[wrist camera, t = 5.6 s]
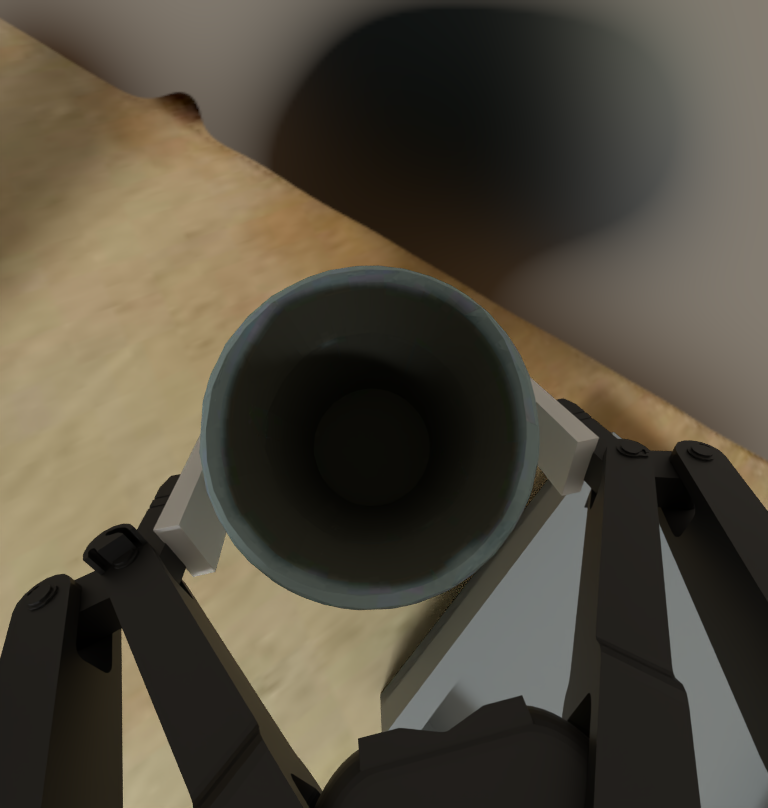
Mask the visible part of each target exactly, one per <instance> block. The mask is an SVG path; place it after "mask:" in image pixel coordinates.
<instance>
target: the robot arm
mask: <svg viewBox="0 0 768 808" xmlns="http://www.w3.org/2000/svg"><path fill="white" fill-rule="evenodd" d="M530 380H531V384H532V387H533V391H534V395H535V400H536V407H537V414H538V420H539V431H540V445H539V459H538V464H537V465H538V467H539V468H540V469H541V470H542V472H543V473H544V474H545V475H546V477H547V478H548V479H549V480H550V482H551V483H552V484H553V485H554V487H555V488H556V489H557V490H558V492H559V493H560V494H561V495H562V496H563V495H568V494H572V493H577V492H580V491H581V488H582V485H583V483H584V481H585V482H586V483H587V484H588V485H589V486H590V488H591V490H590V493H589V496H588V498H587V501H586V504H585V506H584V507H585V508H587V518H586V527H585V537H584V547H583V556H582V566H581V575H580V585H579V594H578V604H577V614H576V623H575V633H574V642H573V652H572V661H571V671H570V678H569V684H568V687H567V691H566V695H565V700H564V705H563V712H562V718H561V717H560V716H558V715H556V714H554V713H552V712H549V711H547V710H545V709H542V708H538V707H534V706H528V705H526V703H525V701H524V698H523V696H522V695H521V696H517V697H513V698H509V699H506V700H502V701H498V702H494V703H490V704H487V705H483V706H482V707H480V708H479V709H478V710H476V711H475V712H473V713H472V714H471V715H469V716H468V717H466V718H465V719H464V720H462V721H461V722H460V723H458V724H457V725H455V726H454V727H453V728H451V729H450V730H448V731H446V732H436V731H426V730H417V729H407V728H396V729H393V730H389V731H385V732H381V733H378V734H374V735H370V736H366V737H363V738H359V739H358V744H359V750H357V751H356V752H355V753H353V754H352V755H351V756H350V757H349V758H347V759H346V760H345V761H344V762H343V763H342V764H341V766H340V767H339V768H338V769H337V770H336V772H335V773H334V774H333V775H332V777H331V778H330V780H329V781H328V783H327V784H326V786H325V788H324V790H323V791H322V790H321V788H320V787H319V785H318V783H317V782H316V780H315V779H314V778H313V776H312V775H311V773H310V772H309V770H308V769H307V768H306V766H305V765H304V764H303V762H302V761H301V760H300V759H299V757H298V756H297V755H296V754H295V752H294V751H293V749H292V748H291V746H290V745H289V743H288V742H287V740H286V739H285V737H284V735H283V734H282V732H281V731H280V729H279V728H278V726H277V725H276V723H275V721H274V720H273V718H272V717H271V715H270V714H269V712H268V711H267V709H266V708H265V706H264V704H263V703H262V701H261V700H260V698H259V697H258V695H257V694H256V692H255V690H254V689H253V687H252V686H251V684H250V683H249V681H248V680H247V678H246V676H245V675H244V673H243V672H242V670H241V669H240V667H239V666H238V664H237V663H236V661H235V659H234V658H233V656H232V655H231V653H230V652H229V650H228V649H227V647H226V645H225V644H224V642H223V641H222V639H221V638H220V636H219V635H218V633H217V632H216V630H215V628H214V627H213V625H212V624H211V622H210V621H209V619H208V618H207V616H206V614H205V613H204V611H203V610H202V608H201V607H200V605H199V604H198V602H197V600H196V599H195V597H194V596H193V594H192V593H191V591H190V590H189V588H188V587H187V585H186V583H185V582H184V581H183V580H182V577H183V574H184V571H185V569H187V570H188V571H189V572H190V573H191V575H192V576H193V577H194V576H199V575H203V574H208V573H212V572H215V571H216V568H217V564H218V560H219V557H220V553H221V549H222V546H223V542H224V539H225V535H226V531H225V529H224V527H223V526H222V524H221V523H220V521H219V519H218V517H217V515H216V513H215V510H214V508H213V505H212V503H211V501H210V498H209V496H208V493H207V491H206V485H205V480H204V475H203V469H202V464H201V459H200V454H199V449H200V436H199V438H198V440H197V442H196V444H195V446H194V448H193V450H192V452H191V454H190V456H189V458H188V460H187V462H186V464H185V466H184V468H183V470H182V473H181V474H179V475H174V476H171V477H170V478H169V479H168V480H167V481H166V482H165V483H164V484H163V485H162V486H161V487H160V488H159V490H158V492H157V494H156V496H155V500H153V501H152V503H151V505H150V509H148V511H147V512H146V514H145V516H144V518H143V520H142V522H141V523H140V525H139V527H138V529H137V530H136V529H135V528H134V527H133V526H132V525H131V524H120V525H117V526H113V527H111V528H109V529H108V530H106V531H104V532H102V533H101V534H100V535H98V536H97V537H96V538H95V539H94V540H93V541H92V542H91V543H90V544H89V545H88V546H87V548H86V550H85V552H84V554H83V561H85V562H86V563H87V564H88V565H89V566H90V567H92V568H93V569H94V570H95V571H94V572H92V573H89V574H87V575H85V576H83V577H81V578H79V579H76V580H73V579H72V578H71V577H69V576H67V575H65V574H59V575H54V576H52V577H49V578H47V579H45V580H43V581H42V582H40V583H38V584H37V585H35V586H34V587H33V588H32V589H31V590H29V591H28V592H27V593H26V594H25V595H24V596H23V597H22V598H21V600H20V601H19V602H18V603H17V605H16V607H15V609H14V611H13V613H12V617H11V620H10V624H9V628H8V632H7V635H6V639H5V643H4V647H3V650H2V654H1V658H0V808H123V769H122V653H121V628H122V629H123V631H124V634H125V636H126V639H127V641H128V644H129V646H130V649H131V651H132V653H133V656H134V658H135V661H136V663H137V666H138V668H139V671H140V673H141V676H142V678H143V681H144V683H145V685H146V688H147V690H148V693H149V695H150V698H151V700H152V703H153V705H154V708H155V710H156V713H157V715H158V717H159V720H160V722H161V725H162V727H163V730H164V732H165V735H166V737H167V740H168V742H169V745H170V747H171V749H172V752H173V754H174V757H175V759H176V762H177V764H178V767H179V769H180V772H181V774H182V776H183V779H184V781H185V784H186V786H187V789H188V791H189V794H190V796H191V799H192V802H193V808H701V803H700V794H699V785H698V777H697V768H696V760H695V751H694V742H693V734H692V725H691V717H690V708H689V702H688V697H687V693H686V690H685V688H684V686H683V684H682V683H681V682H680V681H679V680H677V679H676V678H675V675H674V673H673V668H672V658H671V647H670V637H669V626H668V615H667V604H666V593H665V582H664V571H663V561H662V550H661V539H660V528H659V525H660V527H661V529H662V532H663V534H664V536H665V539H666V541H667V543H668V545H669V548H670V550H671V552H672V555H673V557H674V559H675V562H676V564H677V566H678V569H679V571H680V573H681V576H682V578H683V580H684V582H685V585H686V587H687V589H688V592H689V594H690V596H691V599H692V601H693V603H694V606H695V608H696V610H697V612H698V615H699V617H700V619H701V622H702V624H703V626H704V629H705V631H706V633H707V636H708V638H709V640H710V642H711V645H712V647H713V649H714V652H715V654H716V656H717V659H718V661H719V663H720V666H721V668H722V670H723V673H724V675H725V677H726V679H727V682H728V684H729V686H730V689H731V691H732V693H733V696H734V698H735V700H736V703H737V705H738V707H739V709H740V712H741V714H742V716H743V719H744V721H745V723H746V726H747V728H748V730H749V733H750V735H751V737H752V740H753V742H754V744H755V746H756V749H757V751H758V753H759V756H760V758H761V760H762V762H763V764H764V766H765V768H766V770H767V772H768V511H767V510H766V508H765V507H764V506H763V504H762V503H761V502H760V500H759V499H758V498H757V497H756V495H755V494H754V493H753V491H752V490H751V489H750V487H749V486H748V485H747V483H746V482H745V481H744V480H743V478H742V477H741V476H740V474H739V473H738V472H737V470H736V469H735V468H734V466H733V465H732V464H731V463H730V461H729V460H728V459H727V457H726V456H725V455H724V454H723V453H722V452H721V451H720V450H718V449H716V448H714V447H712V446H710V445H708V444H705V443H702V442H697V441H692V440H691V441H681V442H678V443H677V444H676V446H675V447H674V449H673V451H650V450H649V449H648V448H646V447H645V446H644V445H642V444H640V443H638V442H635V441H632V440H628V439H617V438H616V437H615V436H614V435H613V434H611V433H610V432H609V431H608V430H607V429H605V428H604V427H603V426H602V425H601V424H599V423H598V422H597V421H596V420H594V419H592V418H591V416H590V415H588V414H587V413H585V412H584V410H582V409H581V408H580V407H579V406H577V405H576V404H575V403H572V402H570V401H568V400H566V399H564V398H563V399H558V400H556V399H554V398H553V397H552V396H551V395H550V394H549V393H548V392H546V391H545V390H544V389H543V388H542V387H541V386H540V385H538V384H537V383H536V382H535V381H534V380H533V379H532V378H531V377H530ZM200 435H201V434H200Z"/></svg>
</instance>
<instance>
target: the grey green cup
mask: <svg viewBox="0 0 768 808" xmlns="http://www.w3.org/2000/svg"><path fill="white" fill-rule="evenodd" d="M539 445H540V431H539V420H538V414H537V407H536V400H535V395H534V391H533V387H532V384H531V380H530V376H529V373H528V371H527V369H526V367H525V364H524V362H523V360H522V358H521V355H520V354H519V352H518V351H517V349H516V347H515V346H514V344H513V343H512V341H511V339H510V338H509V336H508V335H507V333H506V332H505V331H504V330H503V329H502V328H501V326H500V325H499V324H498V323H497V322H496V321H495V320H494V318H493V317H492V316H491V315H490V314H489V313H488V312H487V311H486V310H485V309H484V308H482V307H481V306H480V305H479V304H477V303H476V302H475V301H474V300H472V299H471V298H470V297H469V296H467V295H466V294H464V293H463V292H461V291H459V290H458V289H456V288H454V287H453V286H451V285H449V284H447V283H445V282H442V281H440V280H438V279H435V278H433V277H431V276H428V275H425V274H421V273H417V272H414V271H410V270H407V269H402V268H394V267H385V266H354V267H348V268H342V269H335V270H329V271H326V272H323V273H320V274H317V275H314V276H310V277H308V278H305V279H303V280H301V281H299V282H297V283H295V284H293V285H291V286H289V287H287V288H285V289H284V290H282V291H280V292H278V293H277V294H275V295H273V296H271V297H270V298H269V299H268V300H267V301H265V302H264V303H263V304H262V305H261V306H260V307H258V308H257V309H256V310H255V311H254V312H253V313H251V314H250V315H249V316H248V317H247V318H246V320H245V321H244V322H243V323H242V325H241V326H240V327H239V328H238V329H237V331H236V332H235V333H234V334H233V336H232V337H231V338H230V339H229V340H228V342H227V343H226V344H225V346H224V348H223V350H222V352H221V355H220V357H219V359H218V361H217V363H216V365H215V367H214V369H213V371H212V373H211V375H210V378H209V382H208V385H207V389H206V392H205V396H204V400H203V408H202V421H201V435H200V449H199V454H200V459H201V464H202V469H203V475H204V480H205V485H206V491H207V493H208V496H209V498H210V501H211V503H212V505H213V508H214V510H215V513H216V515H217V517H218V519H219V521H220V523H221V524H222V526H223V527H224V529H225V531H226V532H227V534H228V535H229V537H230V539H231V540H232V542H233V543H234V545H235V546H236V547H237V548H238V550H239V551H240V552H241V553H242V554H243V555H244V556H245V557H246V559H247V560H248V561H249V562H250V563H251V564H253V565H254V566H255V567H256V568H258V569H259V570H260V571H261V572H262V573H264V574H265V575H266V576H267V577H269V578H270V579H271V580H272V581H273V582H275V583H277V584H278V585H280V586H282V587H284V588H285V589H287V590H289V591H291V592H293V593H295V594H297V595H299V596H302V597H304V598H306V599H309V600H312V601H315V602H318V603H321V604H324V605H329V606H334V607H338V608H344V609H352V610H372V609H393V608H398V607H403V606H408V605H412V604H416V603H419V602H422V601H424V600H427V599H429V598H432V597H434V596H437V595H439V594H442V593H444V592H446V591H448V590H450V589H452V588H453V587H455V586H457V585H458V584H460V583H461V582H463V581H464V580H465V579H467V578H468V577H470V576H471V575H473V574H474V573H475V572H476V571H477V570H478V569H479V568H480V567H482V566H483V565H484V564H485V563H486V562H487V561H488V560H489V559H490V558H491V557H492V556H493V555H495V553H496V552H497V551H498V549H499V548H500V547H501V545H502V544H503V543H504V541H505V540H506V539H507V537H508V536H509V535H510V533H511V532H512V531H513V529H514V528H515V526H516V524H517V522H518V520H519V519H520V517H521V515H522V513H523V511H524V508H525V506H526V504H527V502H528V499H529V497H530V494H531V491H532V487H533V483H534V478H535V473H536V469H537V464H538V459H539Z"/></svg>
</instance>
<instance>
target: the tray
mask: <svg viewBox="0 0 768 808" xmlns="http://www.w3.org/2000/svg"><path fill="white" fill-rule="evenodd" d="M611 434H613V435H614V436H615V437H616V438H617V439H622V438H620V437H619V436H618V435H617V434H616V433H614V432H611ZM590 490H591V488H590V486H589V485H588V484H587V483H586V482H585V481H584V483H583V485H582V488H581V491H580V492H577V493H572V494H568V495H563V496H562V495H561V494H560V493H559V492H558V490H557V489H556V488H555V487H554V485H553V484H552V483H551V482H550V480H549V479H548V480H547V481H546V483H545V484H544V485H543V486H542V488H541V489H540V490H539V492H538V493H537V494H536V495H535V497H534V498H533V499H532V501H531V502H530V503H529V504H528V506H527V507H526V508H525V510H524V511H523V513H522V515H521V517H520V519H519V520H518V522H517V524H516V526H515V528H514V529H513V531H512V532H511V533H510V535H509V536H508V537H507V539H506V540H505V541H504V543H503V544H502V545H501V547H500V548H499V549H498V551H497V552H496V553H495V555H493V556H492V557H491V558H490V559H489V560H488V561H487V562H486V563H485V564H484V565H483V566H482V567H480V568H479V569H478V570H477V571H476V573H475V574H474V575H473V576H472V578H471V579H470V580H469V582H468V583H467V584H466V585H465V587H464V588H463V589H462V591H461V592H460V593H459V594H458V596H457V597H456V598H455V600H454V601H453V602H452V603H451V605H450V606H449V607H448V609H447V610H446V611H445V612H444V614H443V615H442V616H441V618H440V619H439V620H438V621H437V623H436V624H435V625H434V627H433V628H432V629H431V630H430V632H429V633H428V634H427V636H426V637H425V638H424V639H423V641H422V642H421V643H420V644H419V646H418V647H417V648H416V650H415V651H414V652H413V653H412V655H411V656H410V657H409V659H408V660H407V661H406V662H405V664H404V665H403V666H402V668H401V669H400V670H399V671H398V673H397V674H396V675H395V677H394V678H393V679H392V680H391V682H390V683H389V684H388V686H387V687H386V688H385V689H384V691H383V692H382V693H381V695H380V699H381V725H382V732H385V731H389V730H393V729H396V728H407V729H417V730H426V731H436V732H446V731H448V730H450V729H451V728H453V727H454V726H455V725H457V724H458V723H460V722H461V721H462V720H464V719H465V718H466V717H468V716H469V715H471V714H472V713H473V712H475V711H476V710H478V709H479V708H480V707H482V706H483V705H487V704H490V703H494V702H498V701H502V700H506V699H509V698H513V697H517V696H521V695H522V696H523V698H524V701H525V703H526V705H528V706H534V707H538V708H542V709H545V710H547V711H549V712H552V713H554V714H556V715H558V716H560V717H561V718H562V712H563V705H564V700H565V695H566V691H567V687H568V684H569V678H570V671H571V661H572V652H573V642H574V633H575V623H576V614H577V604H578V594H579V585H580V575H581V566H582V556H583V547H584V537H585V527H586V518H587V508H585V507H584V506H585V504H586V501H587V498H588V496H589V493H590ZM659 528H660V539H661V550H662V561H663V571H664V582H665V593H666V604H667V615H668V626H669V637H670V647H671V658H672V668H673V673H674V675H675V678H676V679H677V680H679V681H680V682H681V683H682V684H683V686H684V688H685V690H686V693H687V697H688V702H689V708H690V717H691V725H692V734H693V742H694V751H695V760H696V768H697V777H698V785H699V794H700V803H701V808H768V772H767V770H766V768H765V766H764V764H763V762H762V760H761V758H760V756H759V753H758V751H757V749H756V746H755V744H754V742H753V740H752V737H751V735H750V733H749V730H748V728H747V726H746V723H745V721H744V719H743V716H742V714H741V712H740V709H739V707H738V705H737V703H736V700H735V698H734V696H733V693H732V691H731V689H730V686H729V684H728V682H727V679H726V677H725V675H724V673H723V670H722V668H721V666H720V663H719V661H718V659H717V656H716V654H715V652H714V649H713V647H712V645H711V642H710V640H709V638H708V636H707V633H706V631H705V629H704V626H703V624H702V622H701V619H700V617H699V615H698V612H697V610H696V608H695V606H694V603H693V601H692V599H691V596H690V594H689V592H688V589H687V587H686V585H685V582H684V580H683V578H682V576H681V573H680V571H679V569H678V566H677V564H676V562H675V559H674V557H673V555H672V552H671V550H670V548H669V545H668V543H667V541H666V539H665V536H664V534H663V532H662V529H661V527H660V525H659Z"/></svg>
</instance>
